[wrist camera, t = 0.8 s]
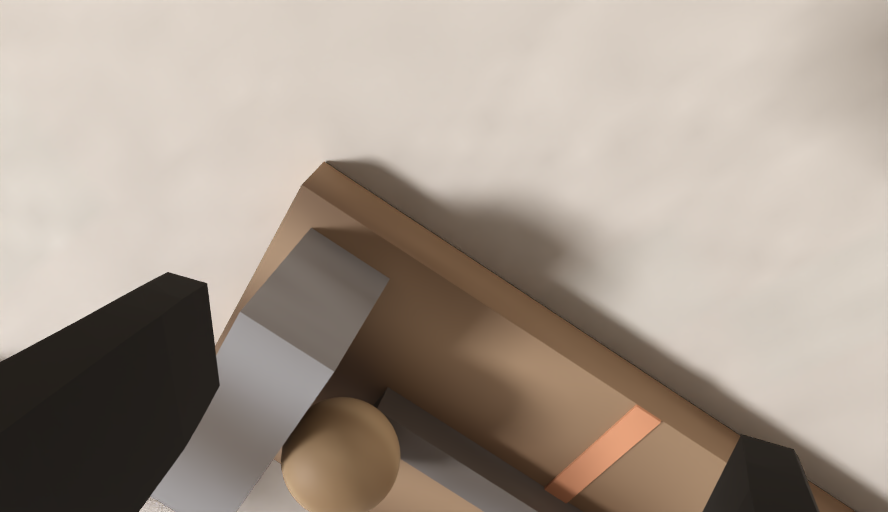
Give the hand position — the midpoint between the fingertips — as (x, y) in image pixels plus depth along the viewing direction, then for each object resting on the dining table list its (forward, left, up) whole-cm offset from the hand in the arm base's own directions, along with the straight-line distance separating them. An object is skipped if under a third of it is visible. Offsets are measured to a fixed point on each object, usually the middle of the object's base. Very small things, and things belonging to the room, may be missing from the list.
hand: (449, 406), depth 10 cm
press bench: (-10, -9, -11) cm, 17 cm away
